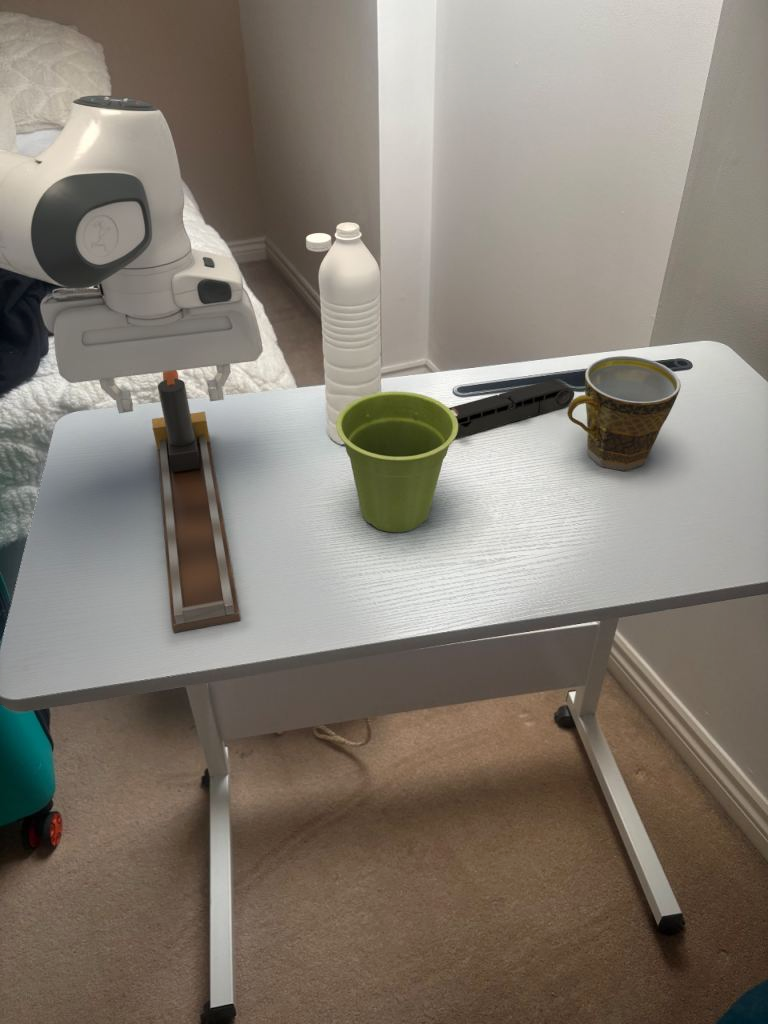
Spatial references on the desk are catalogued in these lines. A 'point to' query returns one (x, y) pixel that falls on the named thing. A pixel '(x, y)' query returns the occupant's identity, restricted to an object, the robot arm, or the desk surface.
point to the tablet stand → (512, 406)
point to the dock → (197, 422)
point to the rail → (196, 544)
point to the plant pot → (396, 454)
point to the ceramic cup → (625, 409)
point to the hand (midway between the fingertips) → (171, 403)
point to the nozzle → (178, 423)
